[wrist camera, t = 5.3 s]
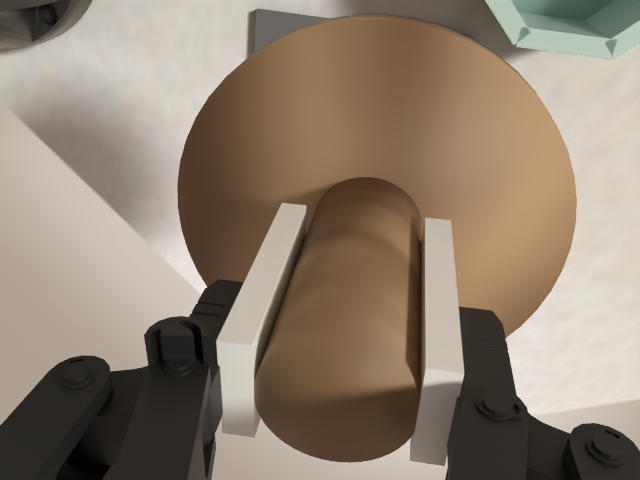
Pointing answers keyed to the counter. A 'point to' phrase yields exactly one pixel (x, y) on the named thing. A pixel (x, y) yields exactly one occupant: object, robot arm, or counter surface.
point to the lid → (373, 210)
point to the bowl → (571, 25)
